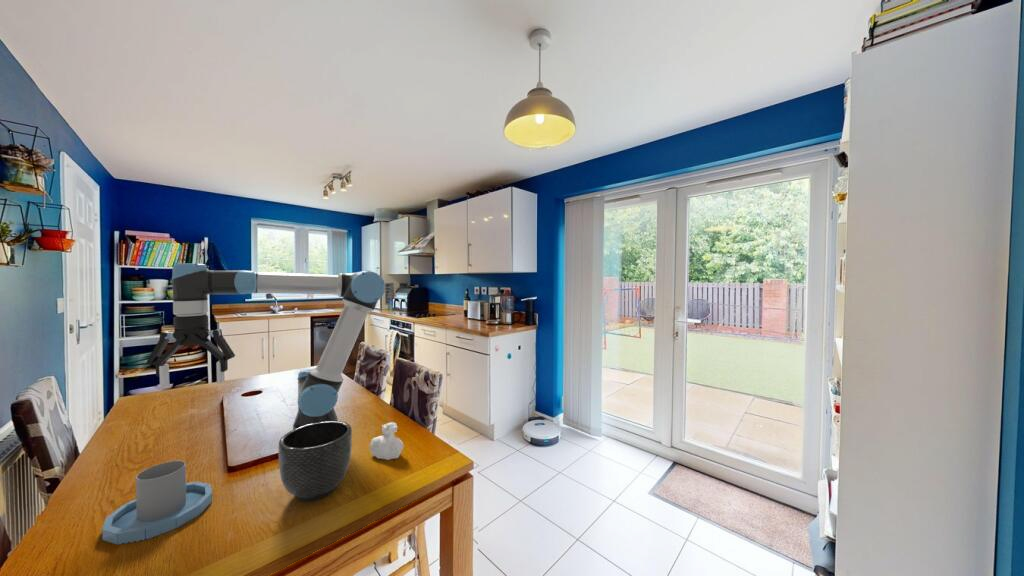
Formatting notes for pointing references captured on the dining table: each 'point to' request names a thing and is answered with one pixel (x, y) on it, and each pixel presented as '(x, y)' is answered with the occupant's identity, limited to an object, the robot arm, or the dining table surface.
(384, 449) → the duck figurine
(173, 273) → the robot arm
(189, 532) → the dining table surface
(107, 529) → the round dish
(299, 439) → the planter
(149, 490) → the cup
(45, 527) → the dining table surface
